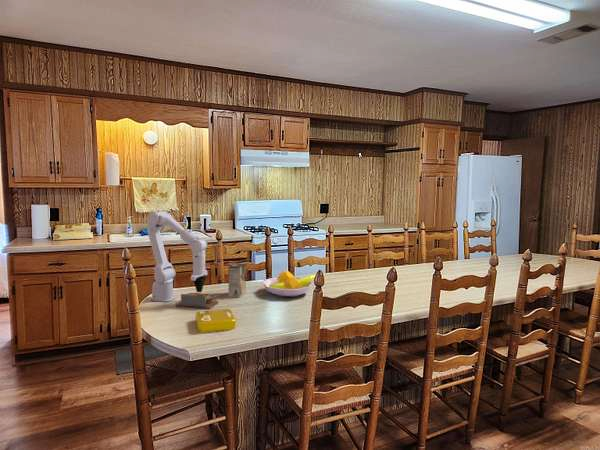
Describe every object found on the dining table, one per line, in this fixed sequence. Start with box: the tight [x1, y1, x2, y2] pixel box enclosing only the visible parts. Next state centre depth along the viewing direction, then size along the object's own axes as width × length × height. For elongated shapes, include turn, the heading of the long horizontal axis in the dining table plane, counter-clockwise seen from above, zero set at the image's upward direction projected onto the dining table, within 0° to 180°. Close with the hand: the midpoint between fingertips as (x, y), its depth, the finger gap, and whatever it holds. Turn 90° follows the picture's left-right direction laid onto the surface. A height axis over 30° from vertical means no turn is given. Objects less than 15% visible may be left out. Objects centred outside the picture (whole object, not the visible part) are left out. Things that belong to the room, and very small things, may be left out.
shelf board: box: [175, 300, 219, 311], centre depth 191 cm, size 17×10×1 cm, turn 80°
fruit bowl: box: [262, 270, 317, 297], centre depth 213 cm, size 28×27×11 cm
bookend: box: [180, 293, 206, 310], centre depth 187 cm, size 12×1×6 cm, turn 80°
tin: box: [187, 292, 215, 304], centre depth 194 cm, size 15×3×8 cm
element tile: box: [195, 308, 236, 333], centre depth 166 cm, size 15×15×5 cm
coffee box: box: [228, 262, 247, 299], centre depth 208 cm, size 9×6×16 cm
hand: (199, 291), depth 193 cm, fingers closed
